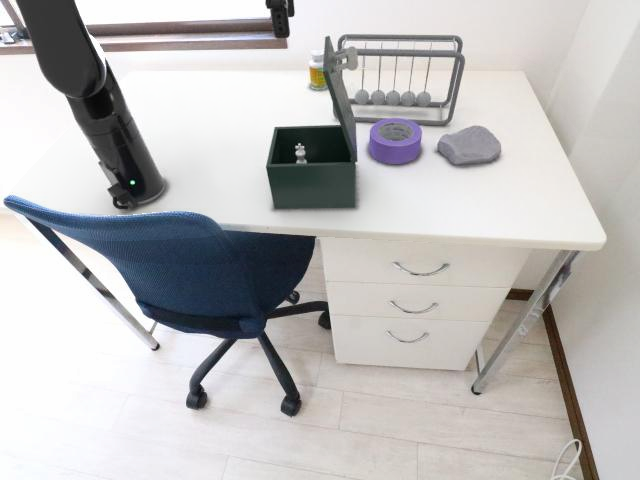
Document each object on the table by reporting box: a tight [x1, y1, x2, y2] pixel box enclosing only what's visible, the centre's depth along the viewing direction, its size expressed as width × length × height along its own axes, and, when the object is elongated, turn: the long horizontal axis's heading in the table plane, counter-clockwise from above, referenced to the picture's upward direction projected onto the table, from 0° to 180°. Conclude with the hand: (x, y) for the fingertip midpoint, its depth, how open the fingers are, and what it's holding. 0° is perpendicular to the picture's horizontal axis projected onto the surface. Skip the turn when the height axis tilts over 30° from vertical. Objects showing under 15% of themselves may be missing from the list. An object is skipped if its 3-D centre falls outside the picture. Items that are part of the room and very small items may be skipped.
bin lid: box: [323, 35, 359, 164], centre depth 65 cm, size 17×14×5 cm
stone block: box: [436, 124, 502, 166], centre depth 84 cm, size 12×5×10 cm
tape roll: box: [368, 117, 423, 165], centre depth 86 cm, size 12×12×5 cm
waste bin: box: [265, 124, 356, 210], centre depth 77 cm, size 17×14×11 cm
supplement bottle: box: [308, 49, 328, 91], centre depth 108 cm, size 5×5×10 cm
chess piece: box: [295, 143, 307, 164], centre depth 77 cm, size 5×5×10 cm
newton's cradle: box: [332, 33, 466, 126], centre depth 92 cm, size 30×10×18 cm, turn 79°
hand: (285, 26), depth 57 cm, fingers open, 8 cm apart
